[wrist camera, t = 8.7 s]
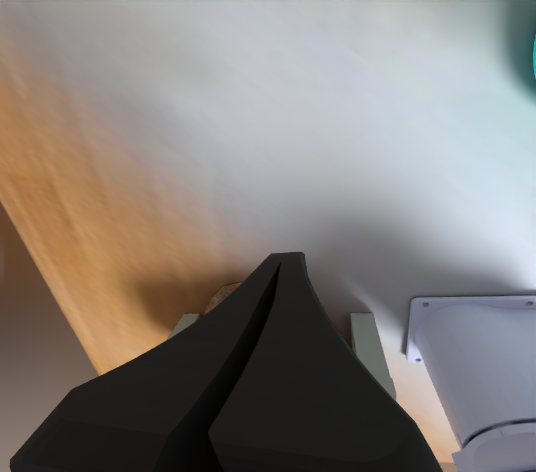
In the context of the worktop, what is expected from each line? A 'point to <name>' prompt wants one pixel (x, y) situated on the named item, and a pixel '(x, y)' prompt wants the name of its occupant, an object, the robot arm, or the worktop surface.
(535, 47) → the donuts
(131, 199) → the worktop surface
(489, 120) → the worktop surface
